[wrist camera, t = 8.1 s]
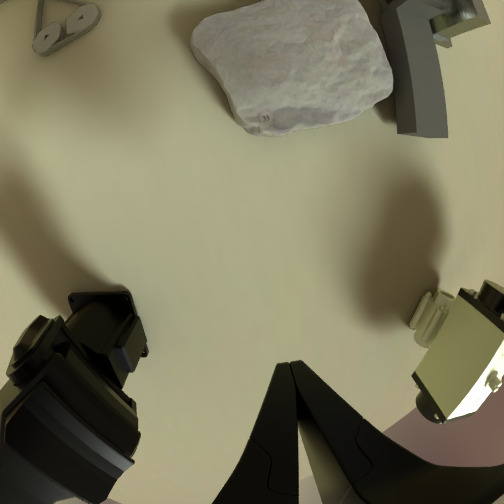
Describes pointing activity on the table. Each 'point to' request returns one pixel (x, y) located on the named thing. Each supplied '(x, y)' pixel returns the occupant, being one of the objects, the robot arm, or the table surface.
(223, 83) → the stone block
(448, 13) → the linear shaft assembly
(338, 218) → the table surface
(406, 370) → the table surface
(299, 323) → the table surface
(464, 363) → the pneumatic valve
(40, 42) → the pulley system
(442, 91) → the collar
